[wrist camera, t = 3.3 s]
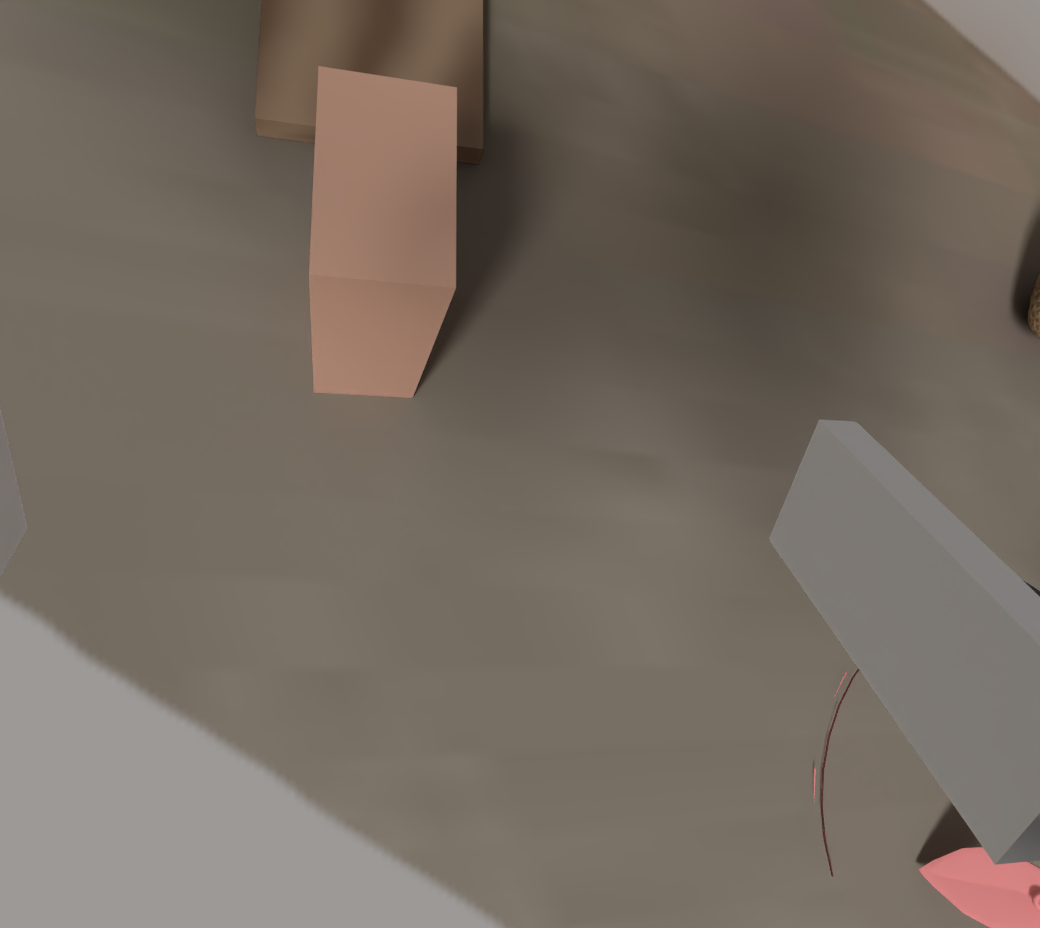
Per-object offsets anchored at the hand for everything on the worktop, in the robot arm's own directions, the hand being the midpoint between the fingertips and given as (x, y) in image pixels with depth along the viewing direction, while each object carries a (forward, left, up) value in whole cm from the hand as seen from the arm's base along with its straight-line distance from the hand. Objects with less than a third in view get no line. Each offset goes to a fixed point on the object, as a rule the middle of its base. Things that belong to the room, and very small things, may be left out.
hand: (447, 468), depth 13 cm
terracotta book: (0, +13, -27) cm, 30 cm away
